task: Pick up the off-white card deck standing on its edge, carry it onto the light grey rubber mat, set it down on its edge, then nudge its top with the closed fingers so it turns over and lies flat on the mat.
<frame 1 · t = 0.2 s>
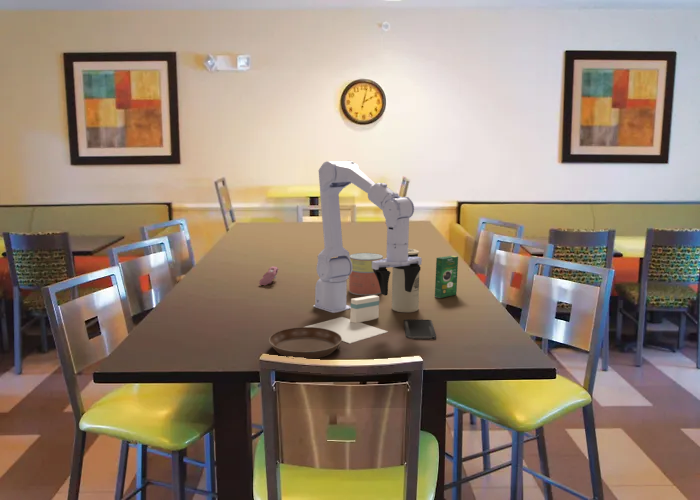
hand: (396, 292, 167), 10 cm above the table, tool pointing down, fingers open, 7 cm apart
travel mug: (405, 310, 187), on the table
pink bird figurine: (269, 283, 220), on the table
card deck: (364, 319, 175), on the table, touching mat
coffee box: (445, 296, 203), on the table
mat: (345, 330, 167), on the table
canned food: (365, 291, 209), on the table
phone: (419, 332, 168), on the table
plant saucer: (305, 350, 153), on the table
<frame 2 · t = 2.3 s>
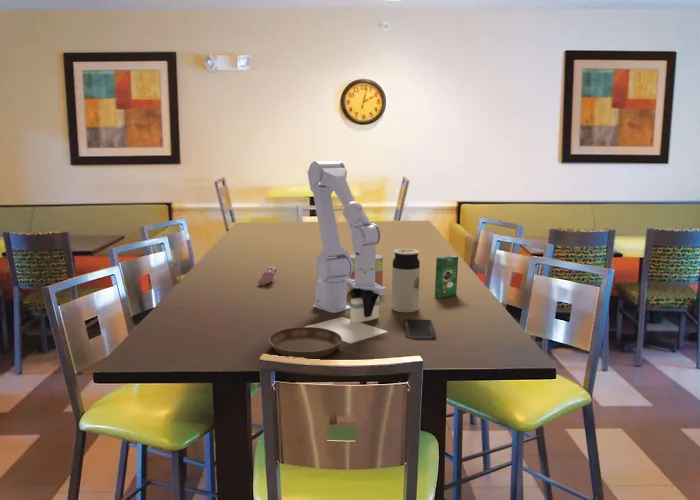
hand: (364, 315, 175), 2 cm above the table, tool pointing down, fingers closed on card deck, 2 cm apart
card deck: (364, 320, 175), on the table, touching gripper, mat
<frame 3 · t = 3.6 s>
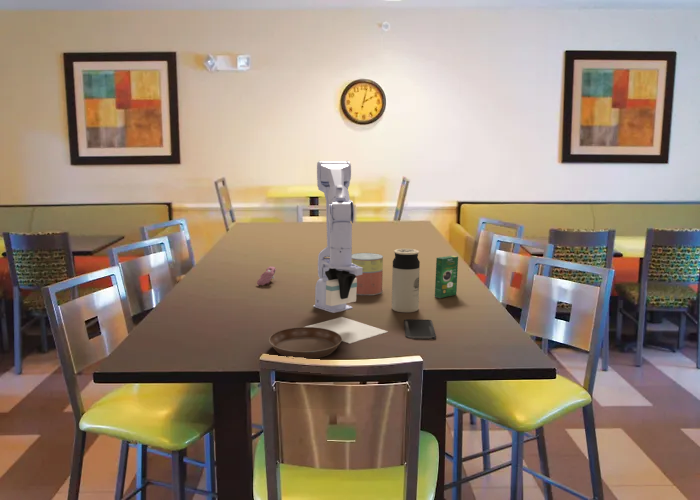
hand: (340, 297, 167), 9 cm above the table, tool pointing down, fingers closed on card deck, 2 cm apart
card deck: (341, 302, 167), point 7 cm above the table, touching gripper
everything else where it was.
when the fingers open (3 cm above the table, at t = 4.8 s): card deck drops 1 cm, resting on mat.
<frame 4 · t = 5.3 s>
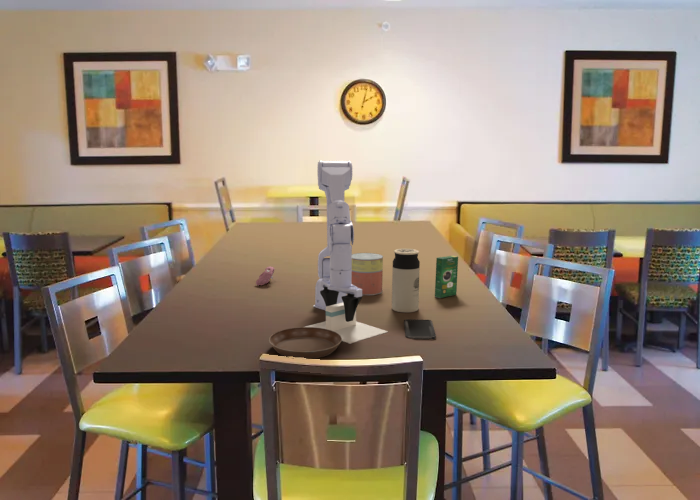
hand: (340, 318, 168), 3 cm above the table, tool pointing down, fingers open, 6 cm apart
card deck: (341, 327, 168), resting on mat
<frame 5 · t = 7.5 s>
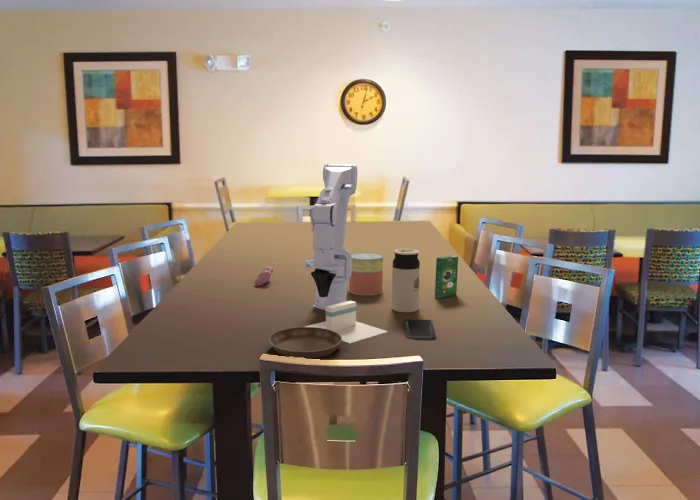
hand: (323, 296, 172), 8 cm above the table, tool pointing down, fingers closed
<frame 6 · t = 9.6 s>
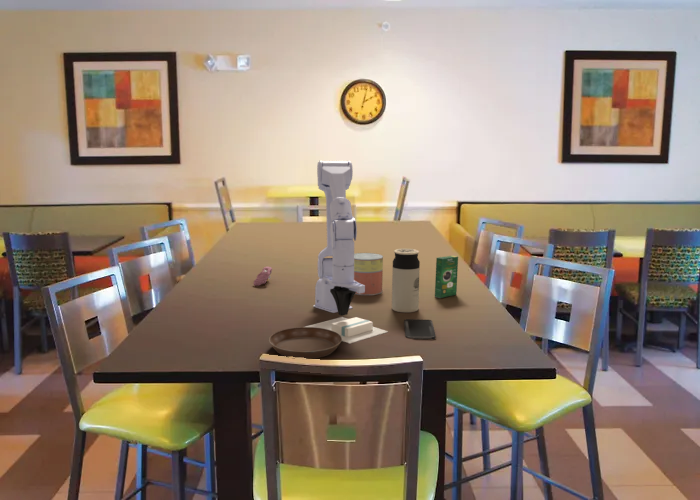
hand: (343, 314, 167), 4 cm above the table, tool pointing down, fingers closed
card deck: (344, 324, 167), point 1 cm above the table, tilted 89°, touching mat
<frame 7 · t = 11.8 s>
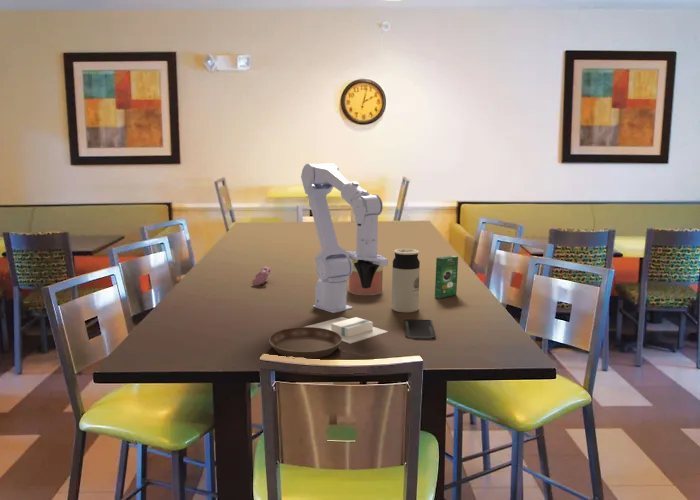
hand: (366, 287, 173), 10 cm above the table, tool pointing down, fingers closed
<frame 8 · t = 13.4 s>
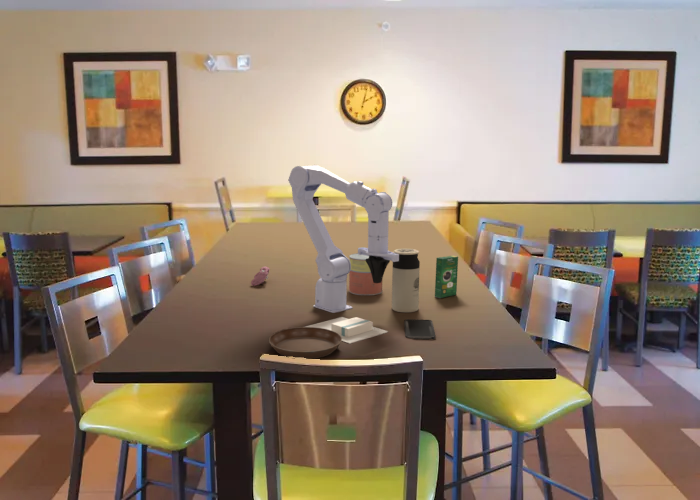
hand: (377, 282, 179), 10 cm above the table, tool pointing down, fingers closed
at the end: card deck tilted 89°; card deck 0.9 cm from the mat (horizontally); card deck point 1.5 cm above the table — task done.
